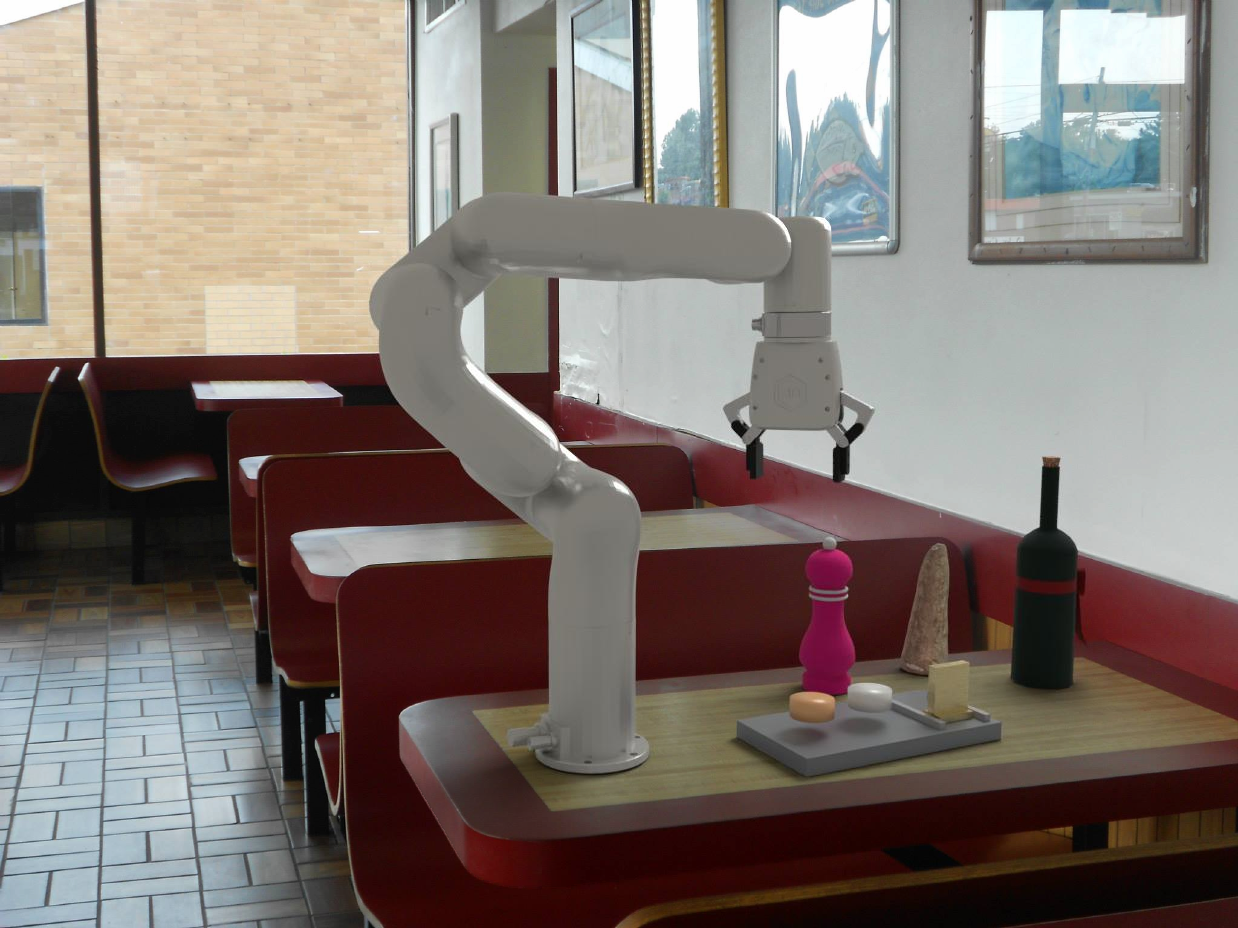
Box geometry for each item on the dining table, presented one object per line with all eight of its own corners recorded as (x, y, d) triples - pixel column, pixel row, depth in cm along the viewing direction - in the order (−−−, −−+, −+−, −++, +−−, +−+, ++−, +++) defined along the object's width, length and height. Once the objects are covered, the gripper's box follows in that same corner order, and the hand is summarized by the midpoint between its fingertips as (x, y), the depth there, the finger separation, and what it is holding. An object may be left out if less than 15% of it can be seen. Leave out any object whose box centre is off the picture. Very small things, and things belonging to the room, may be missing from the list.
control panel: (806, 776, 133) (807, 751, 133) (736, 736, 146) (736, 713, 146) (1001, 738, 145) (1001, 715, 145) (921, 704, 158) (921, 683, 157)
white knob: (865, 715, 142) (865, 697, 142) (838, 702, 146) (838, 686, 146) (900, 709, 144) (901, 692, 144) (873, 697, 148) (873, 680, 148)
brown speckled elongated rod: (948, 682, 170) (942, 671, 176) (973, 552, 168) (966, 545, 174) (901, 674, 170) (896, 662, 176) (925, 544, 169) (919, 537, 175)
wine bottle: (1100, 685, 166) (1111, 459, 162) (1031, 691, 164) (1041, 461, 160) (1065, 669, 174) (1075, 452, 170) (999, 674, 171) (1008, 454, 168)
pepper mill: (852, 680, 168) (855, 532, 166) (856, 697, 161) (860, 543, 158) (797, 679, 169) (800, 531, 166) (799, 695, 162) (802, 541, 159)
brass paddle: (939, 724, 144) (941, 670, 143) (922, 716, 147) (923, 663, 146) (973, 717, 146) (975, 664, 146) (955, 710, 149) (957, 658, 148)
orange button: (806, 725, 138) (806, 707, 138) (780, 712, 143) (781, 695, 143) (843, 718, 141) (843, 701, 140) (817, 706, 145) (817, 689, 145)
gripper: (713, 330, 142) (714, 481, 144) (866, 329, 135) (865, 487, 137) (734, 328, 149) (735, 472, 151) (881, 327, 142) (879, 478, 144)
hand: (797, 479), depth 144 cm, fingers open, 9 cm apart
